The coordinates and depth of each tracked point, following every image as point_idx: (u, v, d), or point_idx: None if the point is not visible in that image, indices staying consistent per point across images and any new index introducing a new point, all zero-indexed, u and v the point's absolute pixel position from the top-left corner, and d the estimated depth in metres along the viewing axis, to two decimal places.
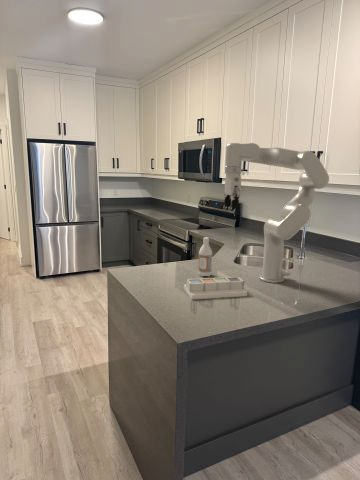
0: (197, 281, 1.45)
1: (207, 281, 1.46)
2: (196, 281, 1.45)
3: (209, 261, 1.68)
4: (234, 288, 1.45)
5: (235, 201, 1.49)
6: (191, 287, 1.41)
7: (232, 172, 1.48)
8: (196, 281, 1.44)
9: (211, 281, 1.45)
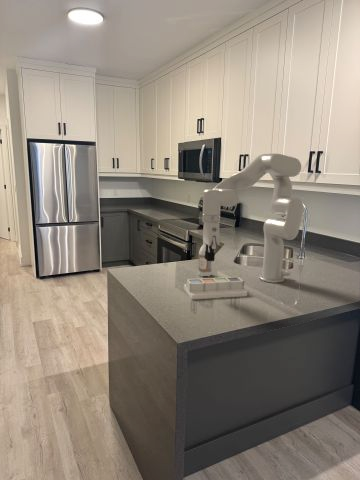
0: (197, 281, 1.45)
1: (207, 281, 1.46)
2: (196, 281, 1.45)
3: (209, 261, 1.68)
4: (234, 288, 1.45)
5: (210, 254, 1.40)
6: (191, 287, 1.41)
7: (210, 221, 1.37)
8: (196, 281, 1.44)
9: (211, 281, 1.45)
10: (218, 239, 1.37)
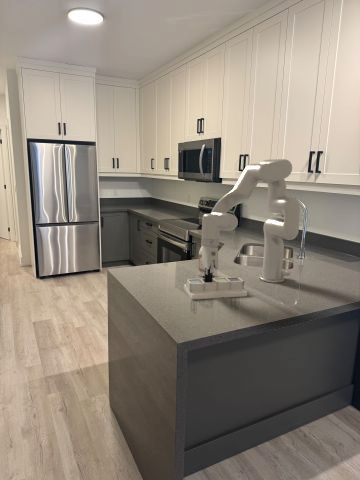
0: (197, 281, 1.45)
1: None
2: (196, 281, 1.45)
3: None
4: (234, 288, 1.45)
5: (208, 276, 1.43)
6: (191, 287, 1.41)
7: (208, 245, 1.38)
8: (196, 281, 1.44)
9: None
10: (217, 263, 1.39)
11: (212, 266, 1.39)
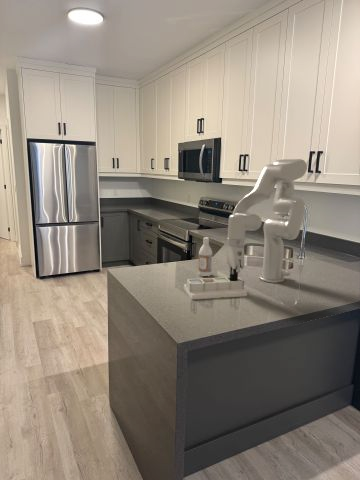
0: (197, 281, 1.45)
1: None
2: (196, 281, 1.45)
3: (209, 261, 1.68)
4: (234, 288, 1.45)
5: (234, 275, 1.46)
6: (191, 287, 1.41)
7: (235, 245, 1.41)
8: (196, 281, 1.44)
9: None
10: (243, 263, 1.42)
11: (238, 266, 1.42)
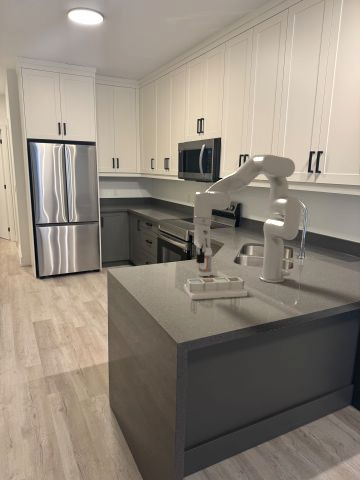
0: (197, 281, 1.45)
1: None
2: (196, 281, 1.45)
3: (209, 261, 1.68)
4: (234, 288, 1.45)
5: (200, 256, 1.41)
6: (191, 287, 1.41)
7: (201, 224, 1.36)
8: (196, 281, 1.44)
9: None
10: (209, 242, 1.37)
11: (204, 245, 1.36)
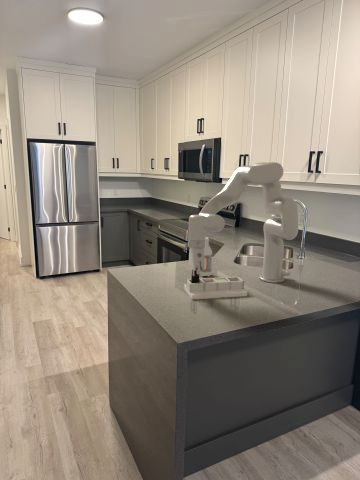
0: None
1: None
2: None
3: (209, 261, 1.68)
4: (234, 288, 1.45)
5: (195, 277, 1.42)
6: (191, 287, 1.41)
7: (195, 247, 1.37)
8: None
9: None
10: (203, 264, 1.38)
11: (198, 268, 1.38)
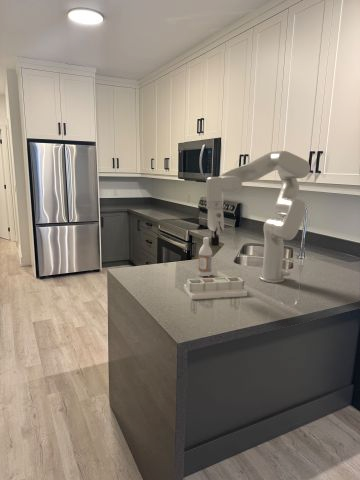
0: None
1: None
2: None
3: (209, 261, 1.68)
4: (234, 288, 1.45)
5: (215, 238, 1.47)
6: (191, 287, 1.41)
7: (214, 208, 1.42)
8: None
9: None
10: (222, 225, 1.42)
11: (218, 228, 1.42)
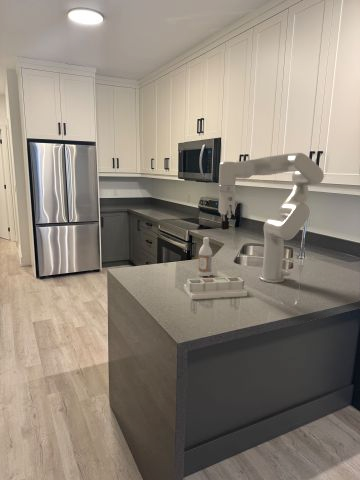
0: None
1: None
2: None
3: (209, 261, 1.68)
4: (234, 288, 1.45)
5: (225, 222, 1.50)
6: (191, 287, 1.41)
7: (226, 191, 1.45)
8: None
9: None
10: (233, 208, 1.46)
11: (229, 211, 1.46)
